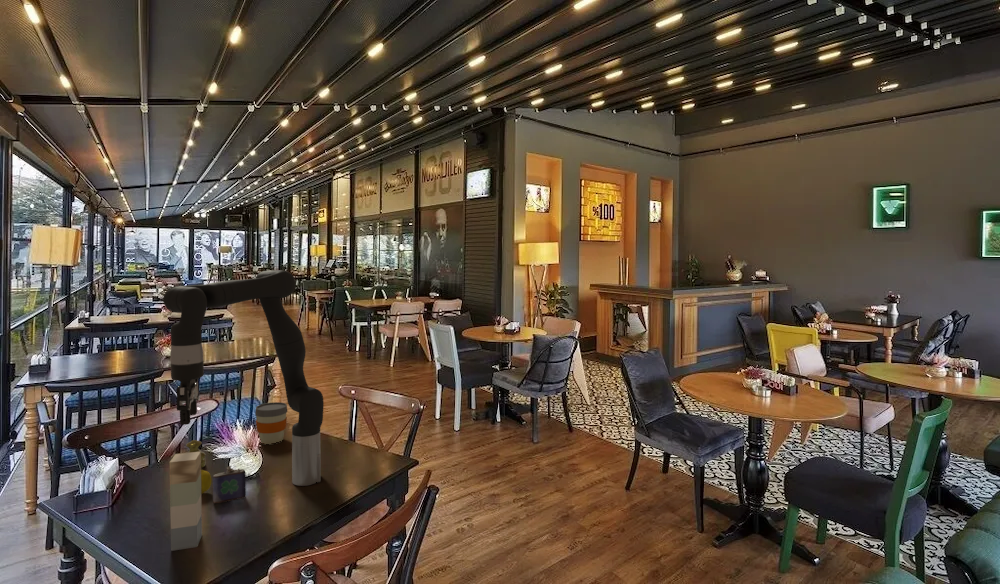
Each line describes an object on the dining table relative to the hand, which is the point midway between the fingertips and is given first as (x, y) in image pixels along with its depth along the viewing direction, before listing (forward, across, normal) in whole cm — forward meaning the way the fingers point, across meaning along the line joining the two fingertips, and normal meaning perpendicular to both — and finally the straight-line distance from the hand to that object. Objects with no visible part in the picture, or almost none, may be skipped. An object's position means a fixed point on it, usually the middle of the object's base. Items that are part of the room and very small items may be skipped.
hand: (188, 419), depth 135 cm
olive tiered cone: (+34, +54, +9) cm, 64 cm away
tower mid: (+28, -2, +1) cm, 28 cm away
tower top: (+22, -2, +1) cm, 22 cm away
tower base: (+34, -2, +1) cm, 34 cm away
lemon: (+34, +29, +2) cm, 44 cm away
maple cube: (+16, -2, +1) cm, 16 cm away
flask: (+34, +22, -6) cm, 41 cm away
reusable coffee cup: (+34, +74, -16) cm, 84 cm away
